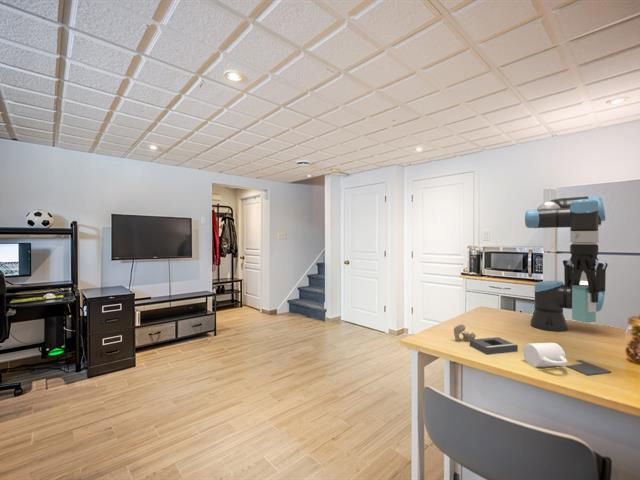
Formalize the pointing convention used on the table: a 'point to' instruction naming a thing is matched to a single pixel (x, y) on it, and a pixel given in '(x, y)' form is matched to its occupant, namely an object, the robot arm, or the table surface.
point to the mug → (544, 354)
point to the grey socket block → (493, 345)
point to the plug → (581, 304)
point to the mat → (588, 368)
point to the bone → (465, 334)
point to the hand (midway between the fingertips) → (583, 309)
